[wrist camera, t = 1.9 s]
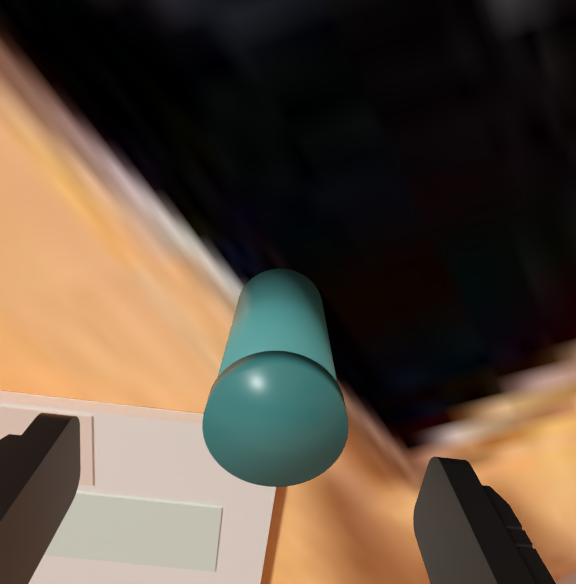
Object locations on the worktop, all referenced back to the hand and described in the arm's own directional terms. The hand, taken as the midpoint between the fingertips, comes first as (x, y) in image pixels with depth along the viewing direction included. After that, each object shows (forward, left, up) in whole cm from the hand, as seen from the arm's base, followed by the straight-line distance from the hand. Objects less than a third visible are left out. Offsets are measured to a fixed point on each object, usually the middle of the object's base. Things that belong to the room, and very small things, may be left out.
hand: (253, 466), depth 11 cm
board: (+6, +15, -10) cm, 19 cm away
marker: (0, 0, -10) cm, 10 cm away
